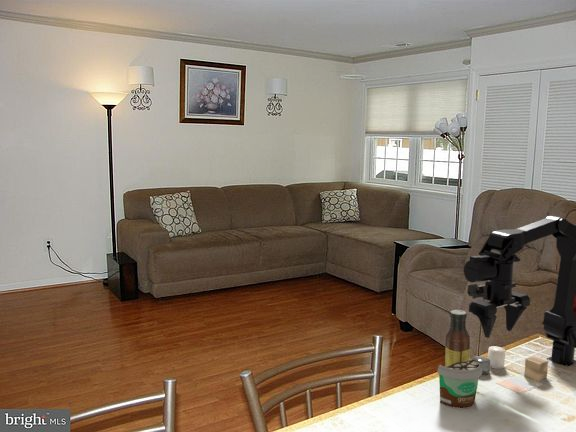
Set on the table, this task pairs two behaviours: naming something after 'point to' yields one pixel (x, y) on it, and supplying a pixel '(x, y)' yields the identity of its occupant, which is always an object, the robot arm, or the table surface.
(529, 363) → the oak block
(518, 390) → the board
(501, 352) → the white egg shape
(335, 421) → the table surface
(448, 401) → the food container
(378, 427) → the table surface
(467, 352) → the sauce bottle
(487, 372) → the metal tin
